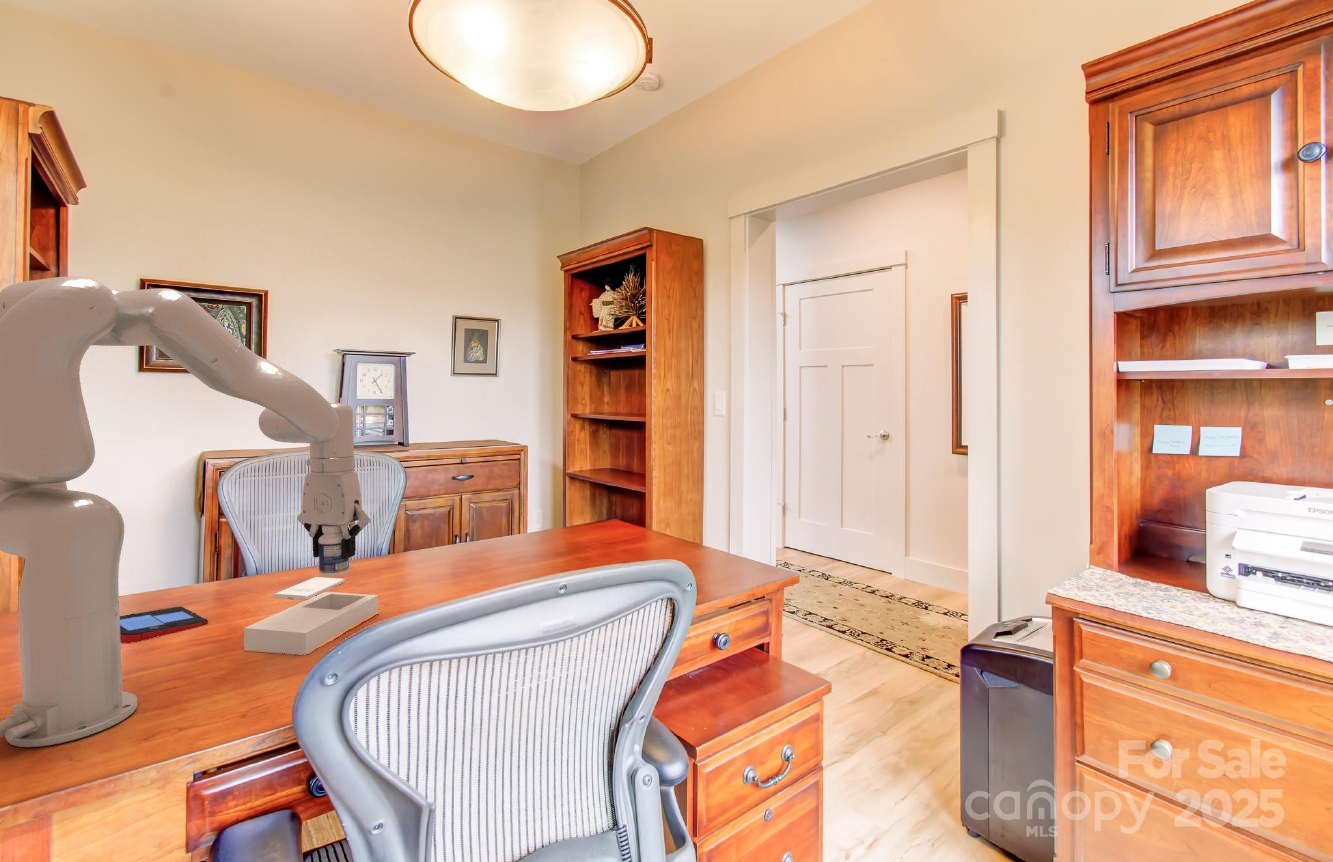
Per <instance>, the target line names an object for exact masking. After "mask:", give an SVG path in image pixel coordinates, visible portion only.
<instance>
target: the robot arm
mask: <svg viewBox="0 0 1333 862" xmlns="http://www.w3.org/2000/svg"><path fill="white" fill-rule="evenodd" d="M91 346H97V347H100V346H103V347H104V346H105V347H108V346H109V347H110V346H111V347H112V346H113V347H127V346H129V347H131V346H133V347H135V346H137V347H139V346H141V347H142V346H154V347H156V348H157V349H158V350H160V351H161V352H163V353H164V354H165V355H166V356H168V357H169V358H171V359H172V360H173V361H174V362H176V363H177V364H179V366H181V367H182V368H183V369H185V370H186V371H187V372H189V373H190V374H191V375H192V376H194V377H195V378H196V379H198V380H199V381H200V382H201V383H203V385H205V386H206V387H207V388H209V389H211V390H214V391H216V392H218V393H221V394H224V395H226V396H229V397H232V398H236V399H240V400H243V401H247V402H250V403H253V404H255V405H259V406H260V407H263V408H264V409H263V410H262V411H261V412H260V415H259V417H258V428H259V430H260V432H261V433H262V434H263V435H264V436H265V437H267V438H268V439H270V440H272V441H275V442H280V443H291V444H309V458H308V459H306V462H305V463H306V465H307V466H308V467H310V468H309V469H310V471H309V472H307V473H306V475H305V479H304V482H303V489H302V499H301V501H302V502H301V512H300V513H299V514H298V516H297V517H296V519H297V522H300V524H301V525H303V527H304V528H305V530H306V531H307V532H308V536H309V537H310V538H312V556H313V558H319V538H320V537H321V536H322V535H324V533H323V531H322V525H340V526H341V529H342V532H343V535H344V539H342V540H341V555H342V559H347V558H350V559H351V558H352V557H355V555H356V551H357V550H356V549H357V547H356V546H357V545H356V544H357V543H356V537H358V536H359V534H360V532H361V531H362V530H363V529H364V528H365V527H366V526H367V525H368V524H369V523H370V522H371V519H370V517H369V516H368V514H367V513H366V512H365V511H364V510H363V506H362V505H363V504H362V502H363V501H362V492H361V486H360V481H359V476H358V473H357V471H355V456H354V455H355V452H354V451H355V449H354V446H355V443H354V441H355V440H354V411H353V408H352V406H351V405H350V404H348V403H343V402H329V401H328V400H327V399H326V398H325V397H324V396H323V395H322V394H321V393H319V392H318V391H317V390H316V389H315V388H314V387H313V386H312V385H310V384H309V383H308V382H306V381H305V380H303V379H302V378H301V377H299V376H297V375H295V374H293V373H292V372H289V370H286V369H285V368H282V367H281V366H279V365H277V364H275V363H274V362H272V361H270V360H268V359H266V358H264V357H262V356H259V355H257V354H256V353H254V352H253V351H252V350H250V348H248V347H247V346H246V345H245V344H244V343H242V342H241V341H240V340H239V339H238V338H237V337H236V336H234V335H233V334H232V333H231V332H230V331H229V330H228V329H226V328H225V326H223V325H222V324H221V323H220V322H219V321H218V320H217V319H216V318H214V317H213V316H212V315H211V314H210V313H209V312H208V311H206V310H205V309H204V308H203V307H202V306H201V305H200V304H198V303H197V302H196V301H195V300H194V299H192V298H191V297H190V296H189V295H187V294H186V293H184V292H182V291H179V290H177V289H173V288H159V287H158V288H148V289H146V288H145V289H136V290H133V289H132V290H114V289H113V290H112V289H110V288H109V287H108V286H106V285H105V284H103V283H102V282H99V281H97V280H94V279H91V278H87V277H82V276H58V277H57V276H55V277H49V278H42V279H34V280H32V279H31V280H26V281H19V282H16V283H12V284H10V285H8V286H6V287H5V288H3V289H2V290H1V291H0V551H1V552H3V553H6V554H9V555H12V556H16V557H22V558H24V567H23V571H22V575H21V579H20V584H19V589H18V599H17V601H18V602H17V604H18V605H17V606H18V609H17V610H18V621H19V637H20V639H19V641H20V661H21V662H20V665H21V684H22V685H21V688H22V689H21V690H22V701H21V702H18V703H16V704H13V705H12V706H11V708H12V713H11V714H9V715H7V716H6V717H5V719H4V720H1V721H0V739H1V738H3V737H5V739H6V742H7V743H9V745H12V746H15V747H21V748H22V747H23V748H34V747H35V748H37V747H38V748H39V747H47V746H52V745H58V744H62V743H67V742H72V741H74V740H79V739H82V738H85V737H88V736H91V735H93V734H96V733H99V732H101V731H103V730H106V729H109V728H111V727H113V726H115V725H117V724H119V723H121V722H122V721H124V720H125V719H127V718H128V717H129V716H130V715H132V714H134V712H135V710H137V707H138V697H137V695H136V694H134V693H131V692H130V691H123V673H122V668H123V667H122V645H121V644H122V642H121V639H120V616H121V613H120V611H121V610H120V599H119V573H120V571H119V569H120V561H121V554H122V548H123V544H124V539H125V522H124V518H123V515H122V514H121V512H120V510H119V509H118V508H117V507H116V506H115V505H114V504H113V503H112V502H111V501H109V500H108V499H106V498H105V497H102V496H100V495H97V494H94V493H90V492H87V491H80V490H71V489H68V486H67V482H69V481H73V480H75V479H77V478H80V477H82V476H83V475H85V473H87V471H89V469H90V468H91V467H92V465H93V463H94V461H95V457H96V450H95V449H96V448H95V442H94V437H93V433H92V430H91V426H90V421H89V418H88V417H89V416H88V413H87V409H86V408H87V407H86V406H85V401H84V396H83V392H82V383H81V377H80V375H81V374H80V370H81V364H82V362H83V361H82V360H83V358H84V356H85V355H86V352H87V351H88V350H89V349H90V347H91ZM356 522H357V523H356Z"/></svg>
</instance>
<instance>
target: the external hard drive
mask: <svg viewBox="0 0 1333 862" xmlns="http://www.w3.org/2000/svg"><path fill="white" fill-rule="evenodd" d="M343 582H345V583H346V580H345V579H344V578H335V577H326V576H324V577H322V576H321V577H320V576H315V577H312V578H309V579H307V580H305V581H302V582H299V583H297V584H294V585H293V586H290V587H288V588H286V589H285V588H284V589H283V590H279V591H278V592H275V593H273V595H272V596H273V597H277V598H276V599H284V598H288V599H289V598H293V599H292V600H299V599H309V598H311V597H315V595H318V594H319V593H322V592H323V593H324V591H326V590H328V591H329V589H330V590H332V589H334V588H333V587H335V586H337V587H339V586H340V585H339V584H341V585H343V584H344V583H343ZM342 583H343V584H342ZM338 585H339V586H338ZM331 588H332V589H331ZM335 588H336V587H335ZM326 592H327V591H326Z"/></svg>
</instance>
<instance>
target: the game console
mask: <svg viewBox="0 0 1333 862" xmlns="http://www.w3.org/2000/svg"><path fill="white" fill-rule="evenodd" d="M205 625H209V620H208V619H207V618H205V617H202V616H201V615H199V614H197V613H196V612H192V611H191V610H190V609H187V608H185V607H184V606H174V607H173V606H172V607H167V608H161V609H154V610H149V611H144V612H138V613H131V614H125V615H120V639H121V643H122V642H126V643H125V644H130V643H131V642H134V643H138V641H139V642H141V640H143V641H146V639H147V640H149V638H151V639H154V637H155V638H158V637H157V636H159V637H163V636H166V635H165V634H167V635H170V633H171V634H175V633H178V631H179V632H182V631H187V630H191V629H194V628H198V627H202V626H205ZM186 629H187V630H186ZM162 635H163V636H162ZM131 644H132V643H131Z"/></svg>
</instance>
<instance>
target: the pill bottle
mask: <svg viewBox="0 0 1333 862" xmlns="http://www.w3.org/2000/svg"><path fill="white" fill-rule="evenodd" d="M322 531H323V533H324V535H322V536H321V537H320V538H319V557H318V571H319V574H320V576H321V577H322V576H324V577H334V576H335V577H336V576H340V575H341V576H343V575H344V574H345V575H346V574H347V573H349V572H350V571H351V557H350V558H347V559H342V555H341V540H342V539H344V535H343V532H342V529H341V526H340V525H322Z"/></svg>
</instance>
